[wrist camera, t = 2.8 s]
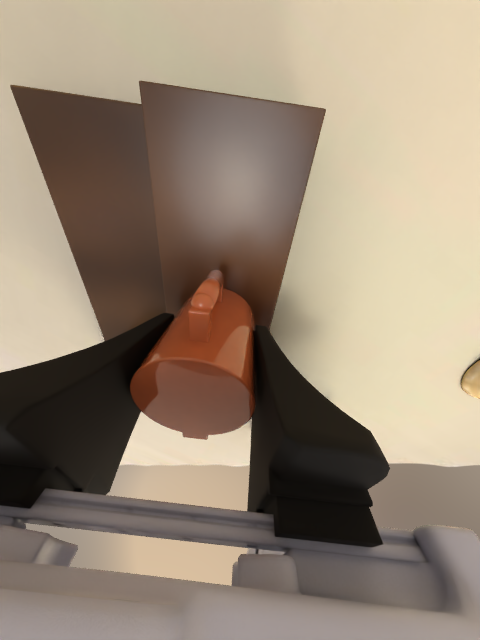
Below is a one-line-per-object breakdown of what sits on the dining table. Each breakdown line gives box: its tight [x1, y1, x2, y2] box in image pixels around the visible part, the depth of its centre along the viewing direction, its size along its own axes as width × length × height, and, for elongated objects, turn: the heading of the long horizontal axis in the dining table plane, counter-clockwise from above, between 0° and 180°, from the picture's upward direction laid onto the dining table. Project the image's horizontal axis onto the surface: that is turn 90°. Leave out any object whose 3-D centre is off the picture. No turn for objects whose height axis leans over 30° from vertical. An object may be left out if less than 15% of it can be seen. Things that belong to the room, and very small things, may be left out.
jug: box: [130, 270, 256, 440], centre depth 9 cm, size 7×5×6 cm
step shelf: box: [10, 81, 326, 341], centre depth 13 cm, size 18×14×3 cm
